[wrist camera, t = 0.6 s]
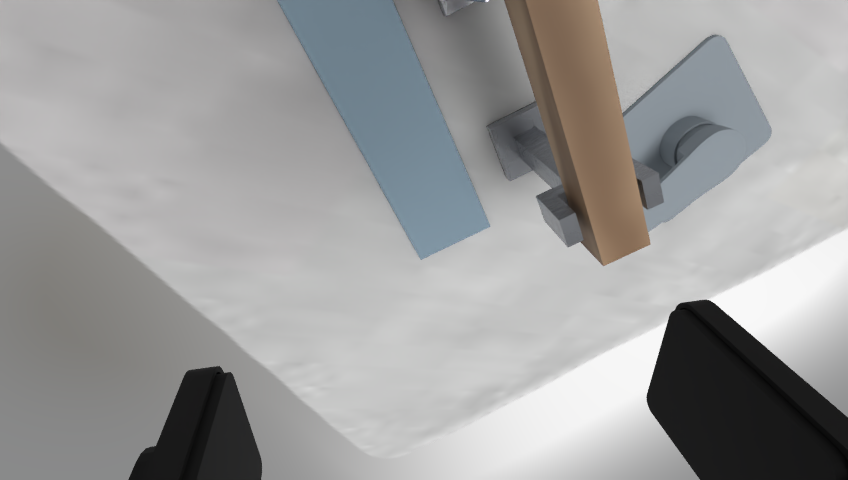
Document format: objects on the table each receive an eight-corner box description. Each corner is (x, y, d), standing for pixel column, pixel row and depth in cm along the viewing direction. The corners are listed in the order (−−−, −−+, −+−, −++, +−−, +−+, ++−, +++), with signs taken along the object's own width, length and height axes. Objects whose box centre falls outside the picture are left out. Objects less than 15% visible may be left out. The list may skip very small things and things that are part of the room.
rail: (532, -144, 20) (562, -164, 17) (623, 222, 30) (650, 244, 27) (469, -110, 20) (488, -125, 17) (580, 241, 30) (603, 266, 27)
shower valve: (598, 181, 36) (767, 34, 32) (568, 159, 41) (712, 28, 37) (669, 268, 41) (820, 150, 38) (635, 239, 46) (766, 132, 43)
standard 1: (547, 95, 37) (654, 149, 25) (564, 148, 40) (667, 222, 27) (480, 129, 38) (551, 198, 25) (500, 179, 40) (574, 266, 28)
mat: (349, -98, 29) (349, -99, 29) (488, 223, 42) (490, 226, 41) (253, -45, 30) (252, -46, 29) (420, 256, 42) (420, 259, 42)
